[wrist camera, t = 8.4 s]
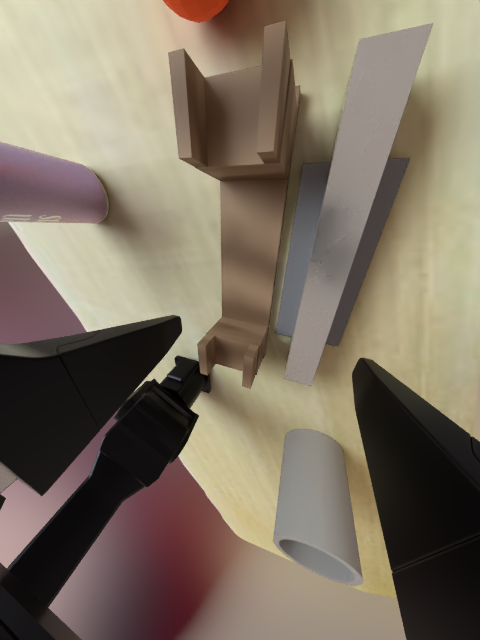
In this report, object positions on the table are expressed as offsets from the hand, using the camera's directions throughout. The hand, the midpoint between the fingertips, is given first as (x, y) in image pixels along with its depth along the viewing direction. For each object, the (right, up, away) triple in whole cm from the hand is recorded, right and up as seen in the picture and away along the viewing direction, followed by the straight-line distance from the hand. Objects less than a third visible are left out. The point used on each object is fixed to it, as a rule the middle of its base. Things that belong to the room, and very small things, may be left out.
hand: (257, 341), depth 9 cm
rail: (+7, +6, +8) cm, 12 cm away
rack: (0, +7, +10) cm, 13 cm away
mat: (+7, +6, +8) cm, 13 cm away
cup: (+11, -20, +21) cm, 31 cm away
